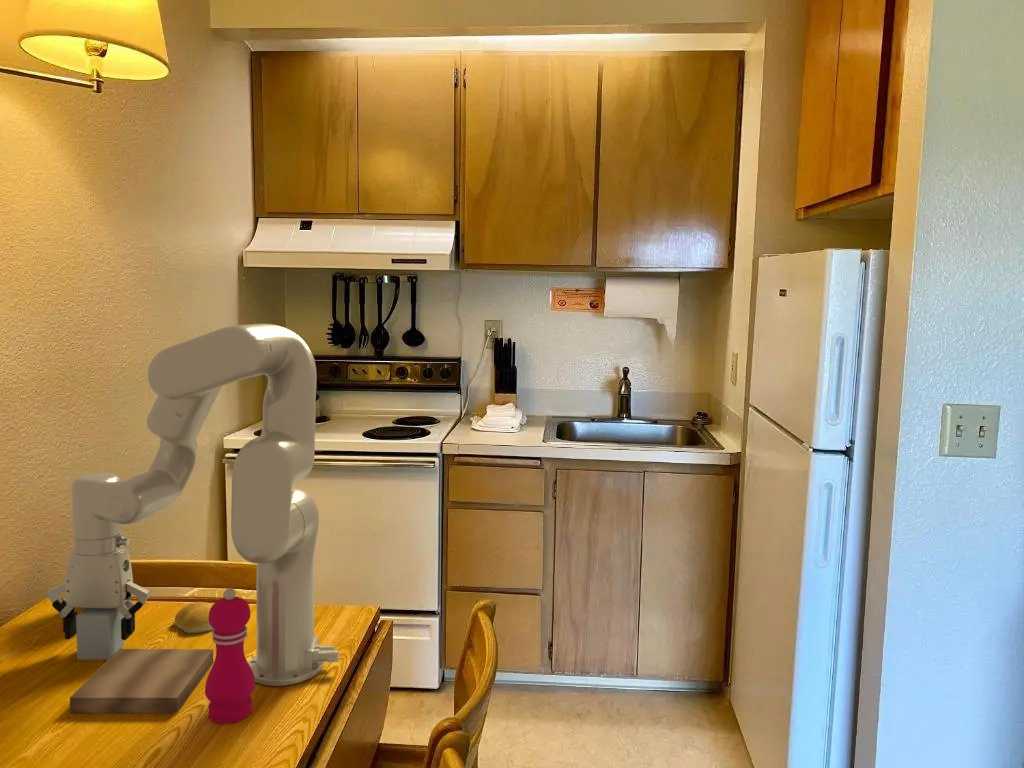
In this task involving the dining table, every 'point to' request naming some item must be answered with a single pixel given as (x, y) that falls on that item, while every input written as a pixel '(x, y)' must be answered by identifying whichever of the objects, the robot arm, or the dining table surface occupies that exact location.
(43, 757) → the dining table surface
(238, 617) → the pepper mill
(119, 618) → the slate block
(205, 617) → the bread roll
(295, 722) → the dining table surface
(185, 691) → the walnut base
